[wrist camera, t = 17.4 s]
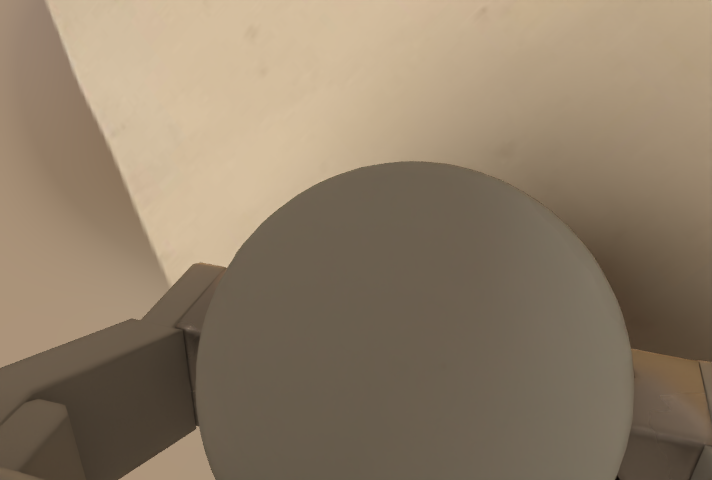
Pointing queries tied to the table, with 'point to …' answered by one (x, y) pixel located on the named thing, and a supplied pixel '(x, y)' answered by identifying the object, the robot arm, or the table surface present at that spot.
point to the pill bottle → (414, 338)
